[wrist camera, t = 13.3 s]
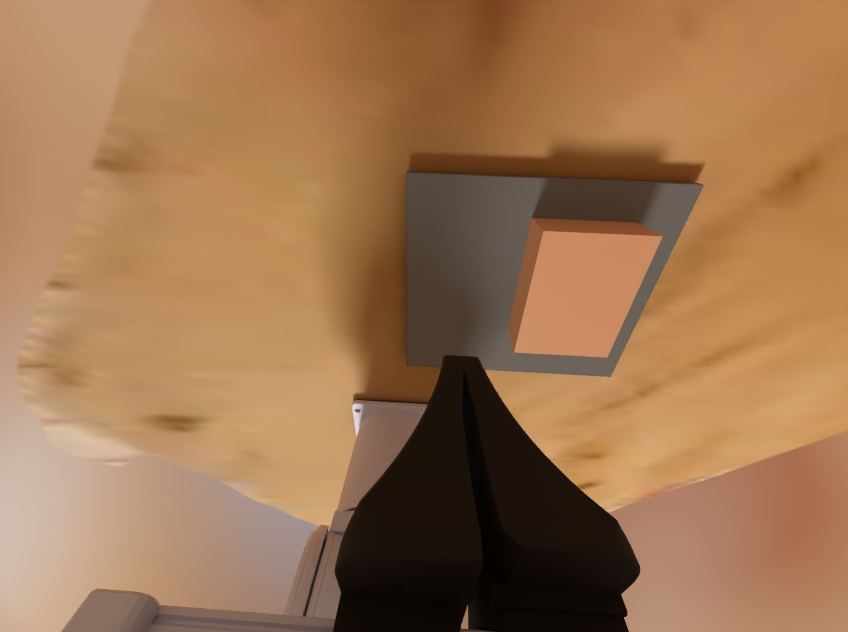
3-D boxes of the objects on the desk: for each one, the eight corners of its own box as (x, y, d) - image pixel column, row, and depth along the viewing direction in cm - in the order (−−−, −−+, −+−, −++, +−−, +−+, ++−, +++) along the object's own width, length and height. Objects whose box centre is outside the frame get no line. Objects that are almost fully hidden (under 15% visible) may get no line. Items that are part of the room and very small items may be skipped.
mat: (607, 371, 25) (610, 376, 24) (407, 360, 25) (406, 365, 24) (696, 182, 17) (704, 185, 16) (407, 171, 17) (406, 172, 17)
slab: (507, 330, 22) (591, 334, 22) (514, 352, 20) (607, 357, 20) (531, 217, 18) (636, 222, 18) (543, 230, 16) (662, 236, 16)
